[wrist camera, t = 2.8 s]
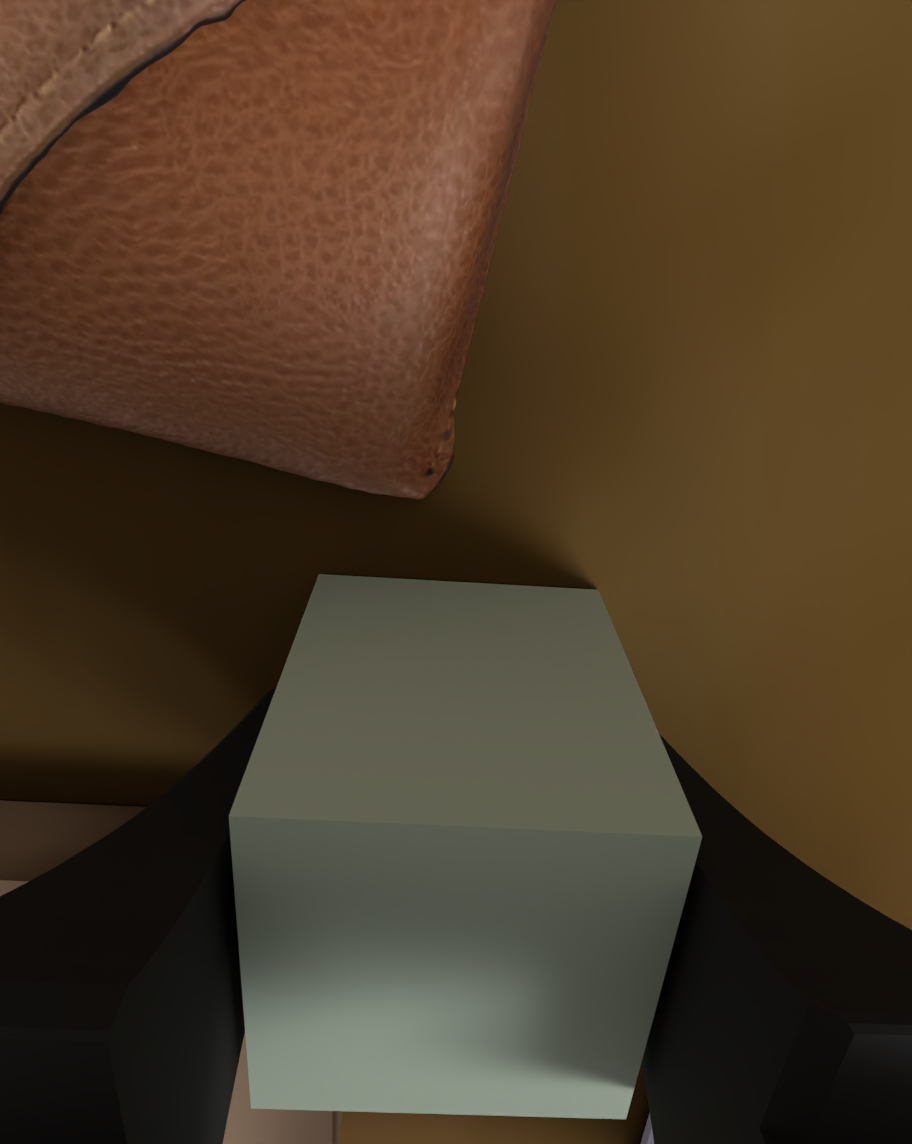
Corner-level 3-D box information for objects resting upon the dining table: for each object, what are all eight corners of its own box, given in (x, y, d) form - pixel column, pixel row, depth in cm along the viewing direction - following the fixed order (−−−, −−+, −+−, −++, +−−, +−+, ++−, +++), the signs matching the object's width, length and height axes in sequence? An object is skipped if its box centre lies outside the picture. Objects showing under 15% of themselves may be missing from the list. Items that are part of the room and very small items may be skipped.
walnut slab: (345, 815, 15) (331, 893, 14) (342, 1108, 20) (332, 1198, 18) (-150, 794, 15) (-232, 870, 13) (-46, 1097, 19) (-98, 1187, 17)
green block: (597, 589, 13) (701, 836, 8) (562, 805, 15) (625, 1118, 10) (318, 574, 13) (229, 815, 8) (320, 794, 15) (251, 1109, 10)
